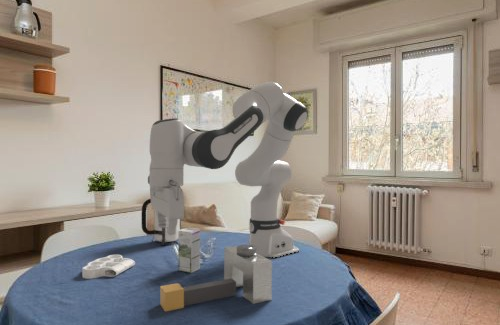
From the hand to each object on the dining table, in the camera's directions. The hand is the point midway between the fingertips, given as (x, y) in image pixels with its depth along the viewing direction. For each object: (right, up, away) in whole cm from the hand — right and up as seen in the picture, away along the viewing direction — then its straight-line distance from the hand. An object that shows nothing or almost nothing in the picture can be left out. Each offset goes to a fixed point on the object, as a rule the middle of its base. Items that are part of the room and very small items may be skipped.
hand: (166, 230), depth 93 cm
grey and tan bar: (+8, -20, +4) cm, 22 cm away
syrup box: (+1, -20, +30) cm, 36 cm away
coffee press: (-17, -19, +68) cm, 73 cm away
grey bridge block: (+21, -20, +12) cm, 32 cm away
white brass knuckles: (-28, -20, +30) cm, 45 cm away
